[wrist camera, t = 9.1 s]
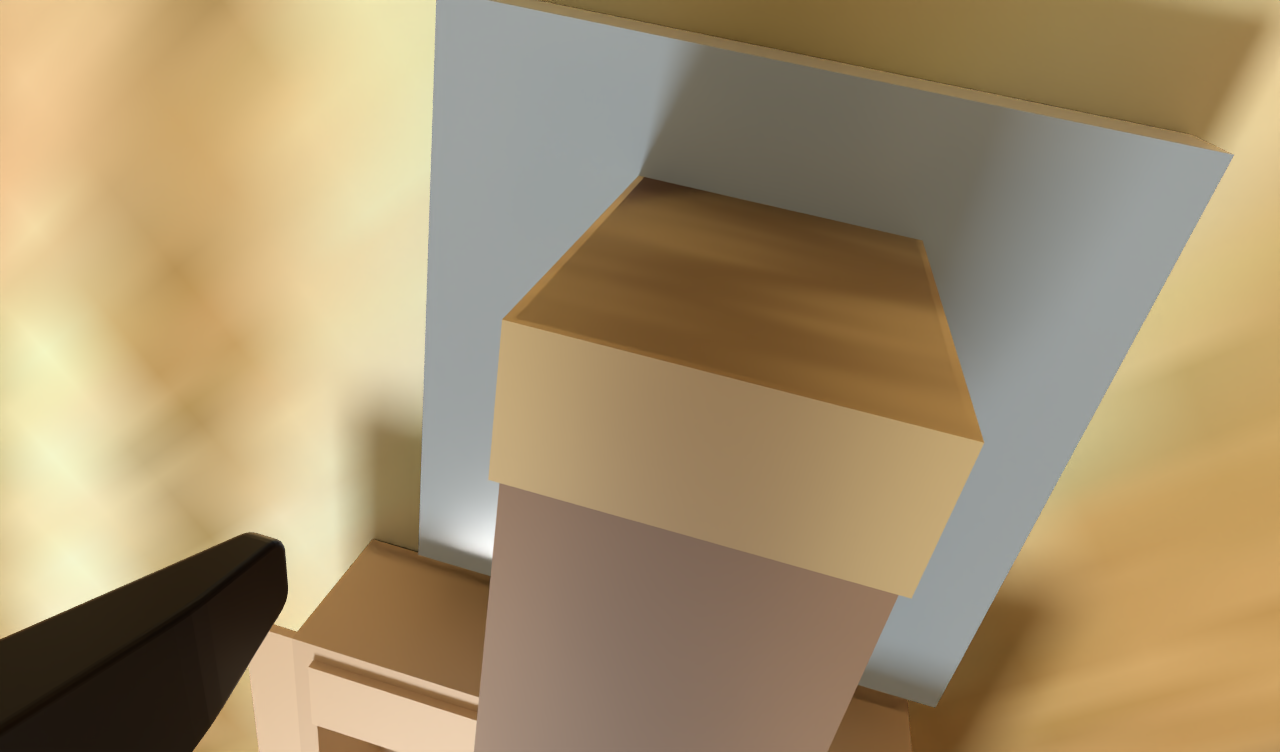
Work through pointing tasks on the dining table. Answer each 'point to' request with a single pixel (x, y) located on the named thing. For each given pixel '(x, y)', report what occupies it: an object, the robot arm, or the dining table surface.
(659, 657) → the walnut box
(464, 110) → the trivet
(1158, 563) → the dining table surface
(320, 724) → the beige shallow square tray
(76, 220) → the dining table surface
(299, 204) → the dining table surface
